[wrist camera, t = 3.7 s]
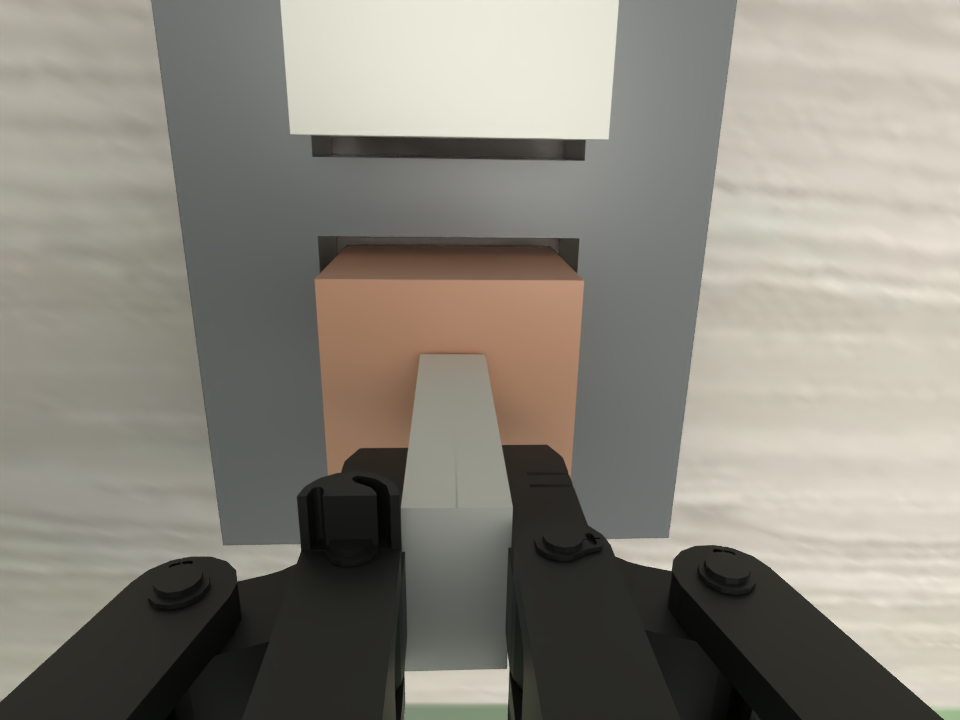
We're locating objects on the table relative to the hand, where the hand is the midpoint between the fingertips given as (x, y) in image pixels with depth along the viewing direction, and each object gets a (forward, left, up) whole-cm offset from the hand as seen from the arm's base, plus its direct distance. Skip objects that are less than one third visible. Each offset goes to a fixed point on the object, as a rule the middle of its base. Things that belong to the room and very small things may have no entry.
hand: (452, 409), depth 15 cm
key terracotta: (0, 0, -5) cm, 5 cm away
